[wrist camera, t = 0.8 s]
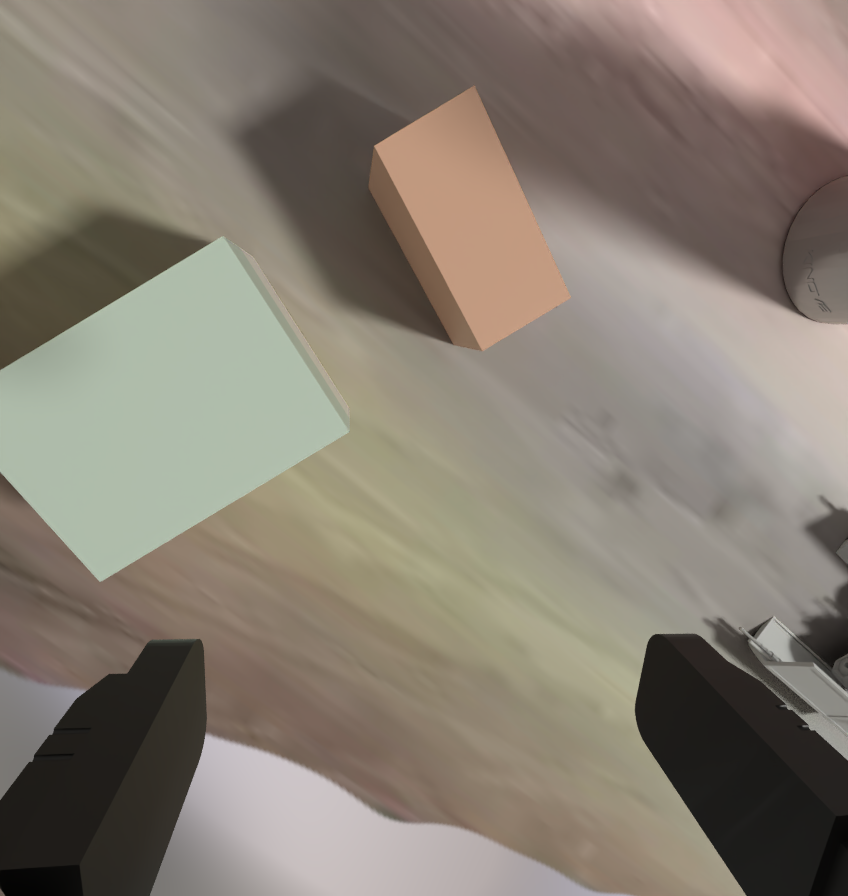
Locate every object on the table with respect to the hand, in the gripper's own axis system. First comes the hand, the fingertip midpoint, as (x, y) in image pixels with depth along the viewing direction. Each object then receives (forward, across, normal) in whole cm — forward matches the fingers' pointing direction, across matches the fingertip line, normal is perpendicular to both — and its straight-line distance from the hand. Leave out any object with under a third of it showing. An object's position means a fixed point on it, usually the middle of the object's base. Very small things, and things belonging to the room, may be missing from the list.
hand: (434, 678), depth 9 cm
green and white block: (+23, +11, -1) cm, 25 cm away
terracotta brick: (+24, -3, -10) cm, 26 cm away
